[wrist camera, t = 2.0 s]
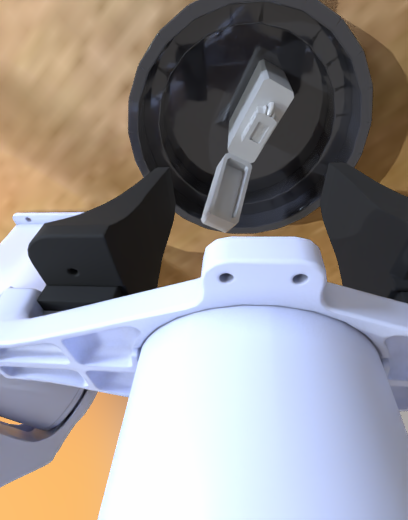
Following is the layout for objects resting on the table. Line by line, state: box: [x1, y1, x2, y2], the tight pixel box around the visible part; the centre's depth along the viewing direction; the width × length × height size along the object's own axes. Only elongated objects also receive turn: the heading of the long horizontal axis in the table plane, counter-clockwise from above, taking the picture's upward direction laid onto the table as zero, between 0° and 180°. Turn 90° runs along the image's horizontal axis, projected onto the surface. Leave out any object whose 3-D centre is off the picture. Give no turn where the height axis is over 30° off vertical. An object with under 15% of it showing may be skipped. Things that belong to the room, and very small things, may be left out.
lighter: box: [201, 59, 294, 232], centre depth 17 cm, size 7×2×8 cm, turn 156°
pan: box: [128, 0, 373, 234], centre depth 19 cm, size 14×14×4 cm
